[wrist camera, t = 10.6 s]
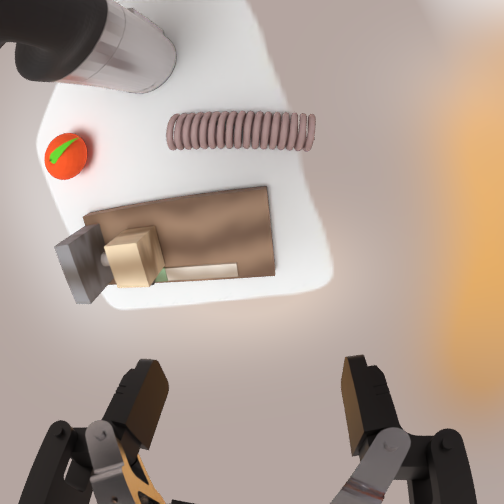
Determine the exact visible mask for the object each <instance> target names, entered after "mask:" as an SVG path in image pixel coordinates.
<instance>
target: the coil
mask: <svg viewBox="0 0 504 504" xmlns="http://www.w3.org/2000/svg"><path fill="white" fill-rule="evenodd" d="M192 119H193V122H192ZM200 119H201V123H200ZM176 120H177V121H176ZM184 120H185V121H184ZM208 120H209V123H208ZM225 120H226V134H225ZM216 121H218V125H217V124H216ZM306 121H307V116H306V114H304V113H302V114H301V115H300V125H299V134H298V115H297V113H292V115H291V124H290V119H289V113H287V112H285V113H283V115H282V123H281V114H280V113H279V112H275V113H274V115H273V116H272V113H271V112H269V111H268V112H266V113H265V115H264V114H263V112H261V111H258V112H257V113H256V115H255V113H254V112H253V111H249V112H248V113H247V114H246V112H244V111H241V112H239V114H238V113H237V112H236V111H232V112H231V113H230V114H229V112H227V111H224V112H222V113H220V112H217V111H216V112H214V113H211V112H206V113H205V114H204V113H202V112H199V113H197V114H195V113H190V114H186V113H183V114H181V115H180V114H175V115H173V116H172V117H171V118H170V120H169V122H168V126H167V132H166V138H167V144H168V147H169V149H171V150H176V149H177V148H178V149H179V150H183V149H184V148H186V149H188V150H190V149H191V148H192V147H193V148H194V149H199V148H200V146H201V148H203V149H207V148H208V146H209V147H210V148H211V149H214V148H216V146H218V148H220V149H222V148H224V146H225V142H226V147H227V148H228V149H231V148H232V147H233V124H234V126H235V133H234V146H235V148H236V149H239V148H240V147H241V143H242V136H241V133H242V125H243V147H244V148H245V149H248V148H249V147H250V134H251V138H252V148H253V149H257V148H258V145H259V135H260V147H261V148H262V149H266V148H267V144H268V145H269V148H270V149H272V150H273V149H275V148H276V144H277V148H278V149H279V150H283V149H284V147H286V149H287V150H292V149H293V147H294V149H295V150H296V151H300V150H301V149H303V150H304V151H306V152H307V151H309V150H310V149H311V147H312V144H313V140H314V134H315V122H316V121H315V116H314V115H313V114H310V115H309V117H308V135H307V138H306V123H307V122H306ZM175 122H176V125H175V131H174V141H173V128H174V124H175Z"/></svg>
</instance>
